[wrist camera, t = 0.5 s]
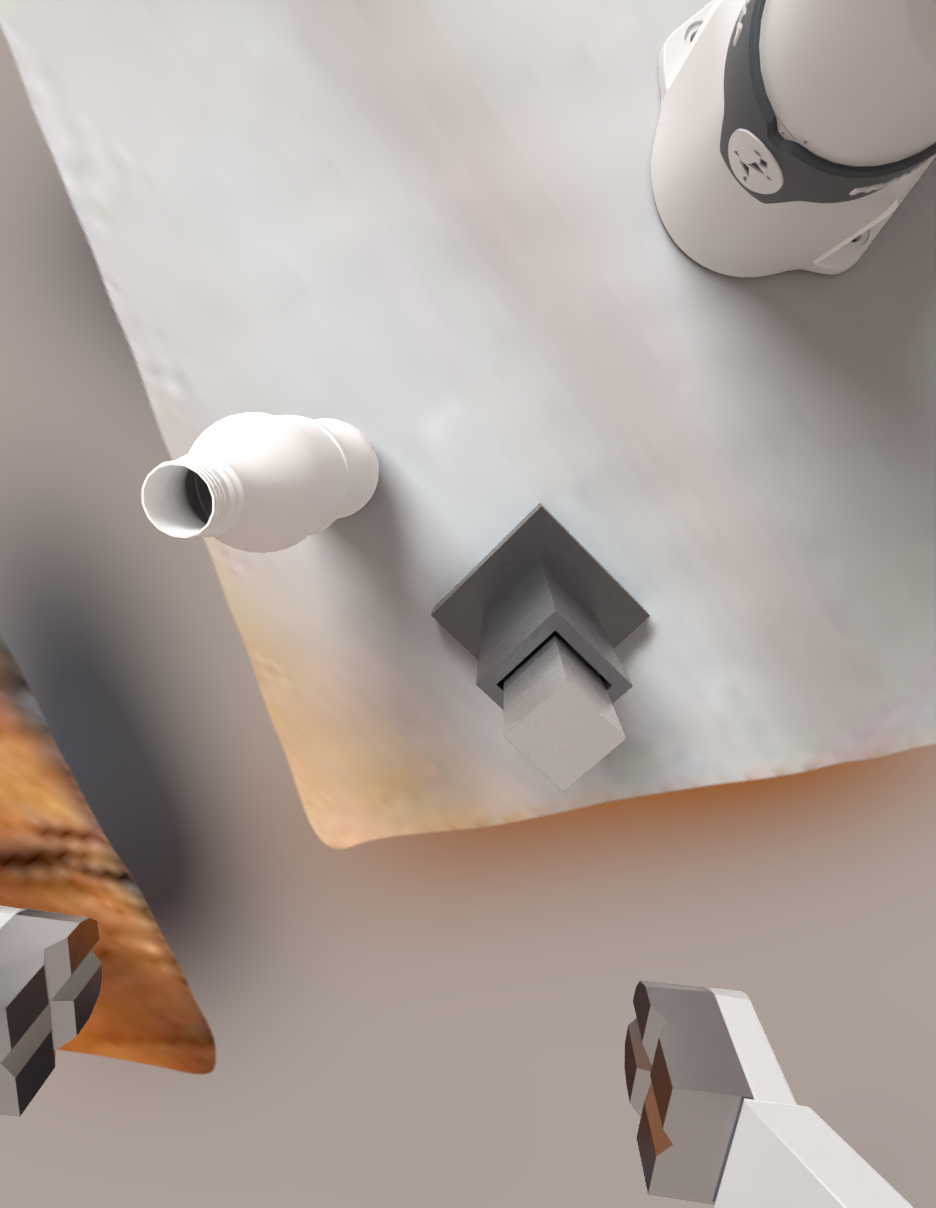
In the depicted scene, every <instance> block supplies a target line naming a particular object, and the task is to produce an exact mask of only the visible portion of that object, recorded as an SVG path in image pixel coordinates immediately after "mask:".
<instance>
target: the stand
mask: <svg viewBox="0 0 936 1208" xmlns="http://www.w3.org/2000/svg"><path fill="white" fill-rule="evenodd" d="M431 615H432V616H433V617H434V618H435V619H436V620H437V621H438V622H439V623H440V624H441V625H442V626H443V627H444V628H445V629H447V630H448V631H449V632H450V633H451V634H452V635H453V636H454V637H455V638H456V639H457V640H458V641H459V642H460V643H461V644H462V645H463V646H465V647H466V648H467V649H468V650H469V651H470V652H471V653H472V654H473V655H474V656H475V657H476V658H477V659H478V660H479V662H478V671H477V681H476V685H477V686H478V687H480V688H481V689H482V690H483V691H484V692H485V693H486V694H487V695H488V696H489V697H490V698H491V699H492V700H493V701H495V702H496V703H497V704H498V705H499V706H500V707H501V708H502V709H503V710H504V677H505V676H506V675H507V674H508V673H509V672H510V671H511V670H513V669H514V668H515V667H516V666H517V665H518V664H519V663H520V662H521V661H522V660H523V659H524V658H526V657H527V656H528V655H529V654H530V653H531V652H532V651H533V650H534V649H535V648H536V647H538V646H539V645H540V644H541V643H542V642H543V641H544V640H545V639H546V638H547V637H548V636H549V635H551V634H552V633H553V632H554V631H555V630H556V631H557V632H558V633H559V634H560V635H561V636H562V637H563V638H564V639H565V640H566V641H567V642H568V643H569V644H570V645H571V646H572V647H573V648H574V649H575V650H576V651H577V652H578V653H579V654H580V655H582V656H583V657H584V658H585V659H586V660H587V661H588V662H589V663H590V664H591V665H592V666H593V667H594V668H595V669H596V670H597V671H598V672H599V673H600V675H601V678H602V680H603V683H604V685H605V688H606V690H607V692H608V695H609V697H610V700H611V702H612V703H613V702H615V701H616V700H617V699H618V698H619V697H620V696H622V695H623V694H624V693H625V692H626V691H627V690H629V689H630V688H631V687H632V686H633V685H632V683H631V681H630V679H629V678H628V676H627V674H626V672H625V670H624V668H623V666H622V664H621V662H620V660H619V658H618V656H617V655H616V653H615V651H614V649H613V648H614V647H615V646H616V645H617V644H619V643H620V642H621V641H622V640H623V639H624V638H625V637H627V636H628V635H629V634H630V633H631V632H632V631H633V630H634V629H636V628H637V627H638V626H639V625H640V624H641V623H642V622H643V621H645V620H646V619H647V618H648V617H649V616H650V615H649V614H648V613H647V612H646V610H645V609H644V608H643V607H642V606H641V605H640V604H639V603H638V602H637V601H636V600H635V599H634V598H633V597H632V596H631V595H630V594H629V593H628V592H627V591H626V590H625V589H624V588H623V587H622V586H621V585H620V584H619V583H618V582H617V581H616V580H615V579H614V578H613V577H612V576H611V575H610V574H609V573H608V572H607V571H606V570H605V569H604V568H603V567H602V565H601V564H600V563H599V562H598V561H597V560H596V559H595V558H594V557H593V556H592V555H591V554H590V553H589V552H588V551H587V550H586V549H585V548H584V547H583V546H582V545H581V544H580V543H579V542H578V541H577V540H576V539H575V538H574V537H573V536H572V535H571V534H570V533H569V532H568V531H567V530H566V529H565V528H564V527H563V526H562V525H561V524H560V523H559V522H558V521H557V520H556V519H555V518H554V517H553V516H552V515H551V514H550V513H549V512H548V511H547V510H546V509H545V508H544V507H543V506H542V505H541V504H539V505H538V506H537V507H536V508H534V509H533V510H532V511H531V512H530V513H529V514H528V515H527V516H526V517H525V518H524V519H523V520H522V521H521V522H520V523H519V524H518V525H517V526H516V527H515V528H514V529H513V530H512V531H511V532H510V533H509V534H508V535H507V536H506V537H505V538H504V539H503V540H502V541H501V542H500V543H499V544H498V545H497V546H496V547H495V548H494V549H493V550H492V551H491V552H490V553H489V554H488V555H487V556H486V557H485V558H484V559H483V560H482V561H481V562H480V563H479V564H478V565H477V566H476V567H475V568H474V569H473V570H472V571H471V572H470V573H469V574H468V575H467V576H466V577H465V578H464V579H463V580H462V581H461V582H460V583H459V584H458V585H457V586H456V587H455V588H454V589H453V590H452V591H451V592H450V593H449V594H448V595H447V596H446V597H445V598H444V599H443V600H442V601H441V602H440V603H439V604H438V605H437V606H436V607H435V608H434V609H433V612H432V614H431Z"/></svg>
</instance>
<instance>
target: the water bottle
mask: <svg viewBox="0 0 936 1208" xmlns="http://www.w3.org/2000/svg"><path fill="white" fill-rule="evenodd" d="M378 478H379V463H378V458H377V456H376V454H375V452H374V450H373V448H372V446H371V444H370V443H369V441H368V439H367V437H366V436H365V435H364V434H363V433H362V432H361V431H359V430H358V429H357V428H355V427H354V426H352V425H350V424H348V423H345V422H343V421H340V420H336V419H329V418H322V419H316V420H313V419H310V418H307V417H303V416H296V415H278V416H275V415H271V414H267V413H259V412H248V413H240V414H236V415H231V416H228V417H226V418H224V419H222V420H219V421H217V422H216V423H214V424H213V425H211V426H210V427H209V428H207V429H206V430H205V431H204V432H203V433H202V434H201V435H200V436H199V437H198V438H197V439H196V441H195V442H194V444H193V446H192V447H191V449H190V451H189V453H188V454H186V455H184V456H182V457H180V458H179V459H177V460H176V461H168V462H163V463H161V464H160V465H159V466H157V467H155V468H154V469H153V470H152V471H151V472H150V473H149V474H148V475H147V476H146V479H145V481H144V484H143V486H142V490H141V491H142V505H143V508H144V510H145V513H146V515H147V517H148V519H149V520H150V521H151V522H152V523H153V524H154V525H155V526H156V528H157V529H158V530H160V531H162V532H164V533H166V534H168V535H170V536H172V537H182V538H191V537H196V536H203V537H214V538H216V539H218V540H219V541H221V542H222V543H224V544H226V545H229V546H231V547H233V548H236V549H239V550H243V551H247V552H260V553H266V552H275V551H279V550H283V549H286V548H289V547H291V546H293V545H296V544H297V543H299V542H300V541H302V540H303V539H305V538H306V537H307V536H309V535H312V534H315V533H318V532H320V531H322V530H324V529H325V528H327V527H328V526H330V525H331V524H332V523H333V522H334V521H335V520H336V519H339V518H344V517H347V516H349V515H352V514H354V513H355V512H357V511H359V510H360V509H361V508H362V507H363V506H364V505H365V504H366V503H367V502H368V501H369V500H370V498H371V497H372V496H373V494H374V492H375V489H376V486H377V483H378Z"/></svg>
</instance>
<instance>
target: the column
mask: <svg viewBox="0 0 936 1208" xmlns="http://www.w3.org/2000/svg"><path fill="white" fill-rule="evenodd" d="M504 737H505V738H506V739H507V740H508V741H509V742H510V743H511V744H512V745H513V746H515V747H516V748H517V749H518V750H519V751H520V752H521V753H522V754H523V755H524V756H525V757H526V758H528V759H529V760H530V761H531V762H532V763H533V764H534V765H535V766H536V767H537V768H538V769H539V770H541V771H542V772H543V773H544V774H545V775H546V776H547V777H548V778H549V779H550V780H551V781H552V782H553V783H555V784H556V785H557V786H558V787H559V788H560V789H561V790H562V791H564V790H565V789H567V788H568V787H569V786H570V785H571V784H573V783H574V782H575V781H576V780H577V779H579V778H580V777H581V776H582V775H583V774H585V773H586V772H587V771H588V770H589V769H591V768H592V767H593V766H594V765H595V764H597V763H598V762H599V761H600V760H601V759H602V758H604V757H605V756H606V755H607V754H608V753H610V752H611V751H612V750H613V749H614V748H616V747H617V746H618V745H619V744H620V743H622V742H623V741H624V740H625V739H626V736H625V734H624V731H623V729H622V727H621V724H620V722H619V719H618V717H617V714H616V712H615V710H614V707H613V705H612V702H611V700H610V697H609V695H608V692H607V690H606V688H605V685H604V683H603V680H602V678H601V675H600V673H599V672H598V671H597V670H596V669H595V668H594V667H593V666H592V665H591V664H590V663H589V662H588V661H587V660H586V659H585V658H584V657H583V656H582V655H580V654H579V653H578V652H577V651H576V650H575V649H574V648H573V647H572V646H571V645H570V644H569V643H568V642H567V641H566V640H565V639H564V638H563V637H562V636H561V635H560V634H559V633H558V632H557V631H556V630H555V631H554V632H553V633H552V634H551V635H549V636H548V637H547V638H546V639H545V640H544V641H543V642H542V643H541V644H540V645H539V646H538V647H536V648H535V649H534V650H533V651H532V652H531V653H530V654H529V655H528V656H527V657H526V658H524V659H523V660H522V661H521V662H520V663H519V664H518V665H517V666H516V667H515V668H514V669H513V670H511V671H510V672H509V673H508V674H507V675H506V676H505V677H504Z"/></svg>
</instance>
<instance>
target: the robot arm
mask: <svg viewBox="0 0 936 1208" xmlns="http://www.w3.org/2000/svg"><path fill="white" fill-rule="evenodd" d="M691 38H693V40H692V42H690V39H691ZM658 78H659V87H660V95H661V111H660V117H659V121H658V125H657V129H656V134H655V138H654V143H653V149H652V159H651V179H652V188H653V194H654V199H655V203H656V206H657V209H658V212H659V215H660V217H661V220H662V222H663V224H664V226H665V228H666V230H667V231H668V233H669V234H670V236H671V237H672V239H673V240H674V242H675V243H676V244H677V245H678V246H679V247H680V248H681V250H682V251H683V252H684V253H686V254H687V255H688V256H689V257H690V258H692V259H693V260H694V261H696V262H697V263H699V264H700V265H702V266H704V267H706V268H708V269H710V270H712V271H715V272H717V273H720V274H724V275H728V276H734V277H745V278H748V277H762V276H768V275H773V274H777V273H781V272H785V271H790V270H798V269H802V270H806V271H811V272H816V273H821V274H839V273H842V272H844V271H846V270H847V269H849V268H850V267H851V266H853V265H854V264H855V263H856V262H857V261H858V260H859V258H860V257H861V256H862V254H863V253H864V252H865V250H866V249H867V248H868V246H869V245H870V244H871V242H872V241H873V240H874V238H875V237H876V236H877V234H878V233H879V232H880V230H881V229H882V228H883V226H884V225H885V224H886V222H887V221H888V220H889V218H890V217H891V216H892V214H893V213H894V212H895V210H896V209H897V208H898V206H899V205H900V204H901V202H902V201H903V200H904V198H905V197H906V196H907V194H908V193H909V192H910V190H911V189H912V188H913V186H914V185H915V184H916V182H917V181H918V180H919V178H920V177H921V176H922V174H923V173H924V172H925V170H926V169H927V168H928V166H929V165H930V164H931V162H932V161H933V160H934V158H935V157H936V0H713V1H711V2H710V3H709V4H708V5H706V6H705V7H704V8H703V9H701V10H700V11H699V12H698V13H696V14H695V15H694V16H693V17H691V18H690V19H689V20H688V21H686V22H685V23H684V24H683V25H681V26H680V27H679V28H678V29H676V30H675V31H674V32H673V33H672V34H671V35H670V36H669V37H668V39H667V40H666V42H665V43H664V45H663V47H662V48H661V51H660V53H659V58H658ZM855 238H856V241H855V242H852V240H853V239H855ZM99 939H100V938H99V930H98V923H97V921H96V920H94V919H91V918H88V917H81V916H74V915H67V914H60V913H53V912H46V911H39V910H32V909H20V908H13V907H7V906H0V1115H8V1116H19V1117H20V1116H21V1114H22V1113H23V1112H24V1110H25V1109H26V1107H27V1106H28V1105H29V1103H30V1102H31V1100H32V1099H33V1098H34V1096H35V1095H36V1093H37V1092H38V1091H39V1089H40V1088H41V1086H42V1085H43V1084H44V1082H45V1081H46V1079H47V1078H48V1077H49V1075H50V1074H51V1072H52V1071H53V1069H54V1068H55V1050H57V1049H58V1048H60V1047H61V1046H63V1045H64V1044H66V1043H67V1042H69V1041H71V1040H72V1039H74V1038H75V1037H77V1035H78V1034H79V1033H80V1031H81V1030H82V1028H83V1027H84V1025H85V1024H86V1022H87V1021H88V1019H89V1018H90V1016H91V1014H92V1011H93V1009H94V1006H95V1004H96V1002H97V999H98V997H99V995H100V989H101V983H102V964H101V962H100V961H99V960H98V959H97V957H96V956H95V955H94V954H93V952H92V951H91V950H92V948H93V947H94V946H95V945H96V943H97V942H98V941H99ZM633 1004H634V1008H635V1013H636V1017H637V1018H636V1019H635V1020H634V1021H633V1022H631V1023H630V1024H629V1025H628V1029H627V1034H626V1041H625V1074H626V1084H627V1090H628V1095H629V1101H630V1104H631V1105H632V1106H633V1108H634V1109H635V1110H636V1111H637V1113H638V1114H639V1115H640V1116H641V1119H640V1124H639V1129H638V1134H637V1142H638V1147H639V1152H640V1156H641V1162H642V1166H643V1172H644V1176H645V1182H646V1187H647V1191H648V1194H650V1195H656V1196H662V1197H668V1198H675V1199H681V1200H687V1201H694V1202H701V1203H707V1204H713V1205H715V1206H714V1208H913V1207H912V1206H911V1205H910V1204H909V1203H908V1202H907V1201H906V1200H905V1199H904V1198H903V1197H902V1196H901V1195H900V1194H899V1193H898V1192H897V1191H896V1190H895V1189H894V1188H893V1187H892V1186H891V1185H890V1184H889V1183H888V1182H887V1181H886V1180H885V1179H883V1178H882V1177H881V1176H880V1175H879V1174H878V1173H877V1172H876V1171H875V1170H874V1169H873V1168H872V1167H871V1166H870V1165H869V1164H868V1163H867V1162H866V1161H865V1160H864V1159H863V1158H862V1157H860V1155H859V1154H858V1153H857V1152H855V1151H854V1150H853V1149H852V1148H851V1147H850V1146H849V1145H848V1144H847V1143H846V1142H845V1141H844V1140H843V1139H842V1138H841V1137H840V1136H839V1135H838V1134H837V1133H836V1132H835V1131H833V1129H832V1128H831V1127H830V1126H828V1124H826V1123H825V1122H824V1121H823V1120H822V1119H821V1118H820V1117H819V1116H818V1115H817V1114H816V1113H815V1112H814V1111H813V1110H812V1109H811V1108H810V1107H807V1106H800V1105H798V1104H797V1102H796V1100H795V1098H794V1096H793V1093H792V1091H791V1089H790V1087H789V1085H788V1082H787V1080H786V1078H785V1076H784V1074H783V1071H782V1069H781V1067H780V1065H779V1063H778V1061H777V1058H776V1056H775V1054H774V1051H773V1049H772V1047H771V1045H770V1043H769V1040H768V1038H767V1036H766V1034H765V1032H764V1029H763V1027H762V1025H761V1023H760V1021H759V1018H758V1016H757V1014H756V1012H755V1010H754V1007H753V1005H752V1003H751V1001H750V998H749V997H748V996H747V995H746V994H745V993H744V992H743V991H735V990H726V989H716V988H704V987H696V986H686V985H677V984H667V983H657V982H648V981H639V983H638V985H637V986H636V990H635V994H634V998H633Z"/></svg>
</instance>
